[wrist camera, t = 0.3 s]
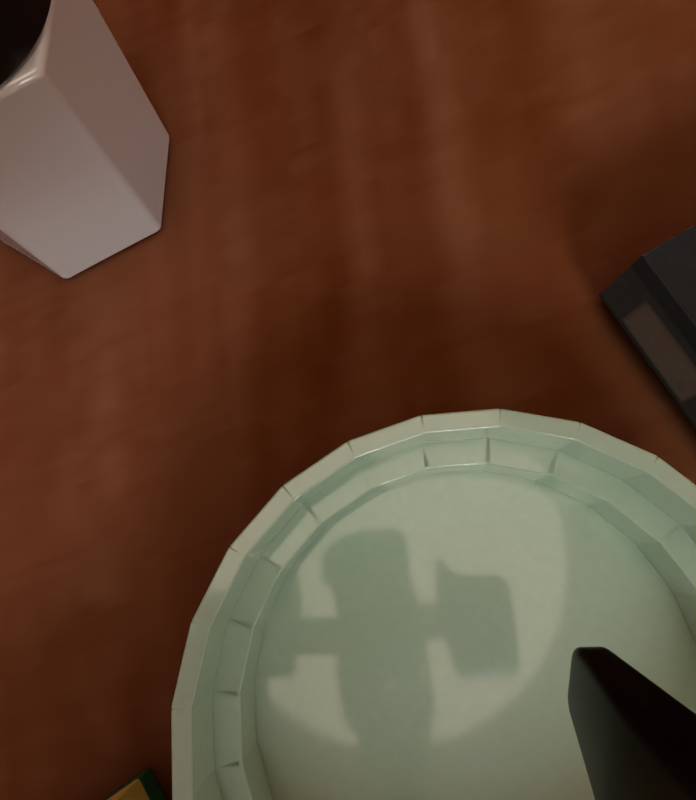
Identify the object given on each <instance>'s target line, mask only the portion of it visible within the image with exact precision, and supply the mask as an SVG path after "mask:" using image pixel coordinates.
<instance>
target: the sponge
mask: <svg viewBox="0 0 696 800" xmlns="http://www.w3.org/2000/svg"><path fill="white" fill-rule="evenodd" d="M103 800H167V799H166V797H165V795H164V794H163V792H162V790H161V788H160V786H159V784H158V782H157V780H156V778H155V777H154V775H153V773H152V771H151V769H150V768H148V769H146V770H145V771H143V772H142V773H140V774H139V775H137V776H136V777H135V778H133V779H132V780H130V781H129V782H128V783H126V784H125V785H123V786H122V787H120V788H119V789H118V790H116V791H115V792H113V793H112V794H111V795H109V796H108V797H106V798H105V799H103Z"/></svg>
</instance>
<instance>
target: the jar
mask: <svg viewBox="0 0 696 800" xmlns="http://www.w3.org/2000/svg"><path fill="white" fill-rule="evenodd" d="M168 149H169V134H168V132H167V131H166V129H165V127H164V125H163V123H162V122H161V120H160V118H159V116H158V115H157V113H156V111H155V109H154V108H153V106H152V104H151V102H150V100H149V99H148V97H147V95H146V93H145V92H144V90H143V88H142V86H141V84H140V83H139V81H138V79H137V77H136V76H135V74H134V72H133V70H132V68H131V67H130V65H129V63H128V61H127V60H126V58H125V56H124V54H123V52H122V51H121V49H120V47H119V45H118V44H117V42H116V40H115V38H114V37H113V35H112V33H111V31H110V29H109V28H108V26H107V24H106V22H105V21H104V19H103V17H102V15H101V13H100V12H99V10H98V8H97V6H96V5H95V3H94V1H93V0H0V241H2V242H3V243H5V244H7V245H8V246H10V247H12V248H13V249H15V250H17V251H18V252H20V253H22V254H23V255H25V256H27V257H28V258H30V259H32V260H33V261H35V262H37V263H38V264H40V265H42V266H43V267H45V268H47V269H48V270H50V271H52V272H54V273H55V274H57V275H59V276H60V277H62V278H65V279H67V278H71V277H72V276H74V275H76V274H78V273H80V272H82V271H84V270H85V269H87V268H89V267H91V266H93V265H95V264H97V263H99V262H100V261H102V260H104V259H106V258H108V257H110V256H112V255H114V254H116V253H117V252H119V251H121V250H123V249H125V248H127V247H129V246H131V245H133V244H134V243H136V242H138V241H140V240H142V239H144V238H146V237H148V236H150V235H152V234H154V233H155V232H157V231H159V230H160V228H161V222H162V212H163V201H164V191H165V181H166V170H167V160H168Z"/></svg>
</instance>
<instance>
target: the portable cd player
mask: <svg viewBox="0 0 696 800" xmlns="http://www.w3.org/2000/svg"><path fill="white" fill-rule="evenodd" d="M599 296H600V298H601V299H602V300H603V302H604V303H605V305H606V306H607V307H608V309H609V310H610V311H611V313H612V314H613V316H614V317H615V318H616V320H617V321H618V322H619V324H620V325H621V327H622V328H623V329H624V331H625V332H626V334H627V335H628V336H629V338H630V339H631V340H632V342H633V343H634V345H635V346H636V347H637V349H638V350H639V351H640V353H641V354H642V356H643V357H644V358H645V360H646V361H647V363H648V364H649V365H650V367H651V368H652V369H653V371H654V372H655V374H656V375H657V376H658V378H659V379H660V380H661V382H662V383H663V385H664V386H665V387H666V389H667V390H668V392H669V393H670V394H671V396H672V397H673V398H674V400H675V401H676V403H677V404H678V405H679V407H680V408H681V409H682V411H683V412H684V414H685V415H686V416H687V418H688V419H689V421H690V422H691V423H692V425H693V426H694V427H695V429H696V225H694V226H692V227H690V228H689V229H687V230H685V231H684V232H682V233H680V234H678V235H677V236H675V237H673V238H671V239H670V240H668V241H666V242H664V243H663V244H661V245H659V246H657V247H656V248H654V249H652V250H651V251H649V252H647V253H645V254H644V255H642V256H641V257H640V258H639V259H638V260H637V261H635V262H634V263H633V264H632V265H631V266H630V267H629V268H628V269H627V270H626V271H625V272H624V273H623V274H622V275H620V276H619V277H618V278H617V279H616V280H615V281H614V282H613V283H612V284H611V285H610V286H609V287H608V288H607V289H606V290H604V291H603V292H602V293H601V294H600V295H599Z"/></svg>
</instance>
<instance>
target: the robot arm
mask: <svg viewBox="0 0 696 800" xmlns="http://www.w3.org/2000/svg"><path fill="white" fill-rule="evenodd" d="M568 706H569V711H570V715H571V719H572V722H573V725H574V729H575V732H576V736H577V739H578V743H579V746H580V750H581V753H582V756H583V760H584V763H585V767H586V770H587V774H588V777H589V781H590V784H591V787H592V791H593V794H594V798H595V800H696V714H695V713H694V712H692V711H691V710H690V709H688V708H687V707H686V706H684V705H683V704H682V703H680V702H679V701H678V700H676V699H675V698H674V697H672V696H671V695H670V694H668V693H667V692H665V691H664V690H663V689H661V688H660V687H659V686H657V685H656V684H655V683H653V682H652V681H651V680H649V679H648V678H647V677H645V676H644V675H643V674H641V673H640V672H638V671H637V670H636V669H634V668H633V667H632V666H630V665H629V664H628V663H626V662H625V661H624V660H622V659H621V658H620V657H618V656H617V655H616V654H614V653H613V652H612V651H610V650H609V649H607V648H605V647H601V646H595V647H577V648H576V649H575V650H574V651H573V654H572V659H571V668H570V678H569V687H568Z"/></svg>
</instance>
